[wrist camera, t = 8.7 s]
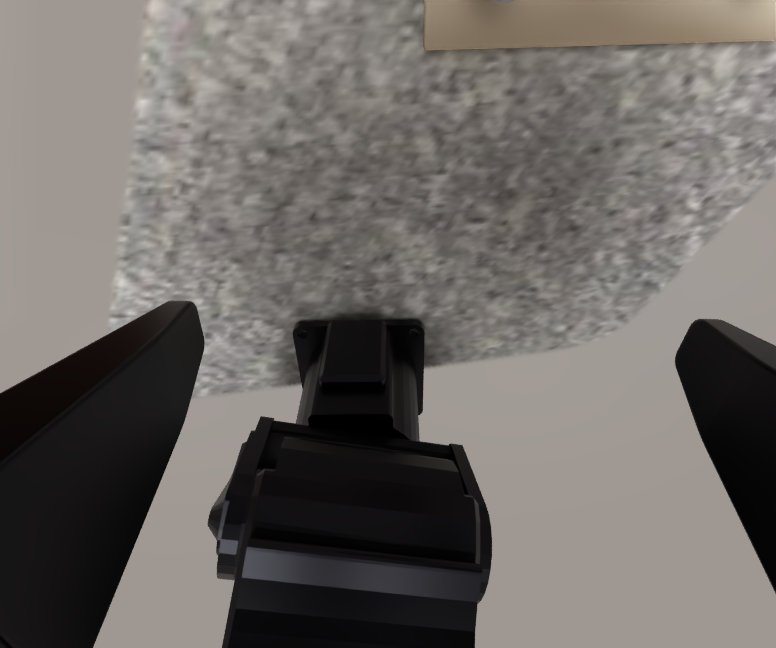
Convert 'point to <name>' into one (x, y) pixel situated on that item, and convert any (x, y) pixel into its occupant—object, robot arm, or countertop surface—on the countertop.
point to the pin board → (593, 22)
